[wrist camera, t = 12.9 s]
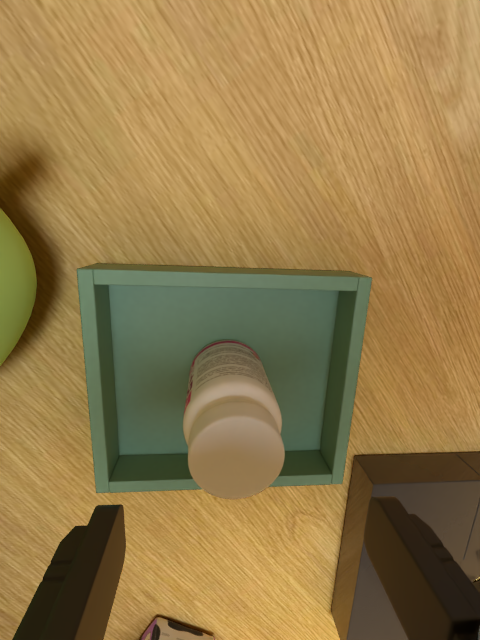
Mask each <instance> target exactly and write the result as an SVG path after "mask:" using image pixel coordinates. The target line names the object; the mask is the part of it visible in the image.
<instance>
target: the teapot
mask: <svg viewBox="0 0 480 640" xmlns="http://www.w3.org/2000/svg"><path fill="white" fill-rule="evenodd" d="M36 289H37V278H36V269H35V265H34V262H33V258H32V255H31V253H30V251H29V249H28V246H27V244H26V242H25V240H24V238H23V237H22V236H21V234H20V233H19V231H18V230H17V229H16V227H15V226H14V224H13V223H12V222H11V220H10V219H9V217H8V216H7V215H6V214H5V213H4V212H3V210H2V209H1V208H0V365H1V364H2V363H3V362H4V361H5V360H6V358H7V357H8V355H9V354H10V353H11V351H12V350H13V349H14V347H15V345H16V344H17V342H18V340H19V338H20V337H21V335H22V333H23V331H24V330H25V327H26V325H27V323H28V320H29V318H30V316H31V313H32V309H33V306H34V302H35V299H36Z"/></svg>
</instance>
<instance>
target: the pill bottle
mask: <svg viewBox="0 0 480 640" xmlns="http://www.w3.org/2000/svg"><path fill="white" fill-rule="evenodd" d="M281 428H282V418H281V412H280V409H279V406H278V403H277V401H276V398H275V396H274V393H273V391H272V388H271V386H270V383H269V381H268V378H267V376H266V373H265V371H264V368H263V365H262V362H261V360H260V358H259V356H258V355H257V353H256V352H255V351H254V350H253V349H252V348H250V347H249V346H248V345H246V344H244V343H242V342H239V341H235V340H221V341H216V342H214V343H211V344H209V345H207V346H206V347H204V348H203V349H202V350H201V351H200V352H199V353H198V354H197V355H196V357H195V358H194V360H193V362H192V365H191V369H190V374H189V383H188V390H187V397H186V403H185V411H184V418H183V432H184V437H185V440H186V443H187V445H188V467H189V470H190V473H191V476H192V477H193V479H194V481H195V482H196V483H197V485H198V486H199V487H201V488H202V489H203V490H204V491H206V492H208V493H209V494H211V495H214V496H217V497H220V498H225V499H241V498H246V497H250V496H253V495H255V494H257V493H259V492H261V491H263V490H265V489H266V488H267V487H268V486H270V485H271V484H272V483H273V482H274V481H275V479H276V478H277V477H278V475H279V473H280V472H281V469H282V467H283V463H284V458H285V451H284V445H283V441H282V438H281V435H280V433H281Z"/></svg>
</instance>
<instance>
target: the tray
mask: <svg viewBox="0 0 480 640" xmlns="http://www.w3.org/2000/svg"><path fill="white" fill-rule="evenodd" d="M77 278H78V290H79V301H80V313H81V324H82V336H83V347H84V359H85V370H86V382H87V393H88V405H89V416H90V427H91V439H92V450H93V462H94V473H95V485H96V493H108V492H109V491H110V493H116V492H143V491H170V490H197V489H202V488H201V487H199V486H198V485H197V483H196V482H195V481H194V479H193V477H192V476H191V473H190V470H189V467H188V445H187V443H186V440H185V437H184V432H183V418H184V411H185V403H186V397H187V390H188V383H189V374H190V369H191V365H192V362H193V360H194V358H195V357H196V355H197V354H198V353H199V352H200V351H201V350H202V349H203V348H204V347H206V346H207V345H209V344H211V343H214V342H216V341H221V340H235V341H239V342H242V343H244V344H246V345H248V346H249V347H250V348H252V349H253V350H254V351H255V352H256V353H257V355H258V356H259V358H260V360H261V362H262V365H263V368H264V371H265V373H266V376H267V378H268V381H269V383H270V386H271V388H272V391H273V393H274V396H275V398H276V401H277V403H278V406H279V409H280V412H281V418H282V428H281V433H280V435H281V438H282V441H283V445H284V451H285V458H284V463H283V467H282V469H281V472H280V473H279V475H278V477H277V478H276V479H275V481H274V482H273V483H272V484H271V485H270V486H268V487H277V486H304V485H330V484H342V483H343V476H344V469H345V462H346V455H347V448H348V441H349V434H350V427H351V420H352V414H353V407H354V400H355V393H356V386H357V379H358V372H359V365H360V358H361V351H362V344H363V337H364V330H365V323H366V316H367V309H368V303H369V296H370V289H371V282H372V278H371V277H368V276H365V275H361V274H357V273H354V272H350V271H331V270H299V269H267V268H235V267H204V266H172V265H140V264H108V263H96V264H93V265H89V266H85V267H82V268H78V269H77Z"/></svg>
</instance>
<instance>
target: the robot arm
mask: <svg viewBox="0 0 480 640" xmlns="http://www.w3.org/2000/svg"><path fill="white" fill-rule="evenodd" d="M364 543H365V548H366V551H367V554H368V556H369V559H370V561H371V563H372V565H373V567H374V569H375V571H376V573H377V575H378V577H379V579H380V581H381V584H382V586H383V588H384V590H385V592H386V594H387V596H388V598H389V600H390V602H391V604H392V606H393V609H394V611H395V613H396V615H397V617H398V619H399V621H400V623H401V625H402V627H403V629H404V631H405V633H406V636H407V638H408V640H480V593H479V592H478V590H477V589H476V588H475V586H474V585H473V584H472V582H471V581H470V579H469V578H468V577H467V575H466V574H465V573H464V571H463V570H462V569H461V567H460V566H459V565H458V563H457V562H456V561H454V559H453V557H452V555H451V554H450V552H449V551H448V550H447V548H446V547H444V546H443V543H442V542H441V540H440V539H439V538H438V536H437V535H436V534H435V532H434V531H433V529H432V528H431V527H430V526H429V525H427V524H426V523H425V522H424V521H423V520H421V519H420V518H419V517H418V516H417V515H415V514H408V512H407V511H406V510H405V508H404V507H403V505H402V504H401V502H400V501H399V500H398V499H397V498H396V497H394V496H389V497H372V498H371V499H370V501H369V506H368V512H367V518H366V524H365V530H364ZM125 549H126V539H125V524H124V510H123V505H98V506H96V508H95V509H94V512H93V514H92V516H91V519H90V521H89V523H88V526H75V527H74V528H73V529H72V530H71V531H70V532H69V534H68V535H67V536H66V537H65V538H64V539H63V540H62V541H61V542H60V544H59V546H58V548H57V550H56V552H55V554H54V556H53V558H52V560H51V564H50V565H49V566H48V568H47V570H46V572H45V574H44V576H43V580H42V582H41V583H40V585H39V587H38V589H37V591H36V593H35V595H34V597H33V599H32V601H31V603H30V605H29V607H28V609H27V611H26V613H25V615H24V617H23V619H22V621H21V623H20V625H19V627H18V629H17V631H16V633H15V635H14V637H13V639H12V640H103V639H104V635H105V631H106V627H107V624H108V620H109V616H110V613H111V609H112V605H113V601H114V598H115V594H116V590H117V587H118V583H119V579H120V575H121V572H122V568H123V564H124V558H125Z"/></svg>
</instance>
